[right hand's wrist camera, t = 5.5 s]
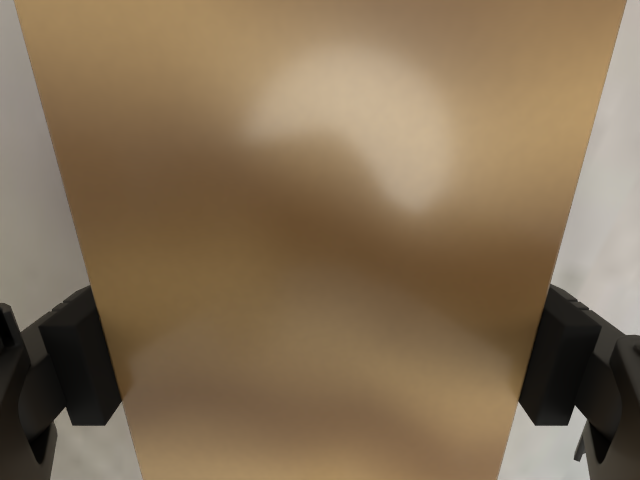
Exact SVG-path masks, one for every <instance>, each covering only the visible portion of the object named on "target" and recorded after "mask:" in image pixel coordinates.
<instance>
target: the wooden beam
mask: <svg viewBox="0 0 640 480" xmlns="http://www.w3.org/2000/svg"><path fill="white" fill-rule="evenodd" d="M626 2H627V0H14V3H15V7H16V10H17V14H18V18H19V21H20V25H21V29H22V33H23V36H24V40H25V44H26V47H27V51H28V55H29V59H30V62H31V66H32V70H33V73H34V77H35V81H36V85H37V88H38V92H39V96H40V99H41V103H42V107H43V110H44V114H45V118H46V122H47V125H48V129H49V133H50V136H51V140H52V144H53V148H54V151H55V155H56V159H57V162H58V166H59V170H60V174H61V177H62V181H63V185H64V188H65V192H66V196H67V200H68V203H69V207H70V211H71V214H72V218H73V222H74V225H75V229H76V233H77V237H78V240H79V244H80V248H81V251H82V255H83V259H84V263H85V266H86V270H87V274H88V277H89V281H90V285H91V289H92V292H93V296H94V300H95V303H96V307H97V311H98V314H99V318H100V322H101V326H102V329H103V333H104V337H105V340H106V344H107V348H108V352H109V355H110V359H111V363H112V366H113V370H114V374H115V378H116V381H117V385H118V389H119V392H120V396H121V400H122V404H123V407H124V411H125V415H126V418H127V422H128V426H129V429H130V433H131V437H132V441H133V444H134V448H135V452H136V455H137V459H138V463H139V467H140V470H141V474H142V478H143V480H497V478H498V475H499V471H500V467H501V464H502V460H503V456H504V453H505V449H506V445H507V442H508V438H509V434H510V430H511V427H512V423H513V419H514V416H515V412H516V408H517V405H518V401H519V397H520V393H521V390H522V386H523V382H524V379H525V375H526V371H527V368H528V364H529V360H530V356H531V353H532V349H533V345H534V342H535V338H536V334H537V331H538V327H539V323H540V320H541V316H542V312H543V308H544V305H545V301H546V297H547V294H548V290H549V286H550V283H551V279H552V275H553V271H554V268H555V264H556V260H557V257H558V253H559V249H560V246H561V242H562V238H563V234H564V231H565V227H566V223H567V220H568V216H569V212H570V209H571V205H572V201H573V198H574V194H575V190H576V186H577V183H578V179H579V175H580V172H581V168H582V164H583V161H584V157H585V153H586V149H587V146H588V142H589V138H590V135H591V131H592V127H593V124H594V120H595V116H596V112H597V109H598V105H599V101H600V98H601V94H602V90H603V87H604V83H605V79H606V76H607V72H608V68H609V64H610V61H611V57H612V53H613V50H614V46H615V42H616V39H617V35H618V31H619V27H620V24H621V20H622V16H623V13H624V9H625V5H626Z"/></svg>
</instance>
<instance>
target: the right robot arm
mask: <svg viewBox="0 0 640 480" xmlns="http://www.w3.org/2000/svg"><path fill="white" fill-rule="evenodd" d="M121 402H122V400H121V396H120V392H119V389H118V385H117V381H116V378H115V374H114V370H113V366H112V363H111V359H110V355H109V352H108V348H107V344H106V340H105V337H104V333H103V329H102V326H101V322H100V318H99V314H98V311H97V307H96V303H95V300H94V296H93V292H92V289H91V285H89V286H87V287H85V288H83V289H80V290H78V291H76V292H75V293H74V294H72V295H71V296H69V297H68V298H67V299H65V300H64V301H63V303H60V304H59V305H57V306H56V307H55V308H53V309H52V312H48V313H46V314H45V315H44V316H42V317H41V318H40V319H38V320H37V321H35V322H34V323H33V324H31V325H30V326H29V327H27V328H26V329H25V330H23V331H22V332H21V333H20V330H19V328H18V325H17V322H16V319H15V317H14V314H13V311H12V309H11V306H9V305H7V304H5V303H0V480H50V476H51V470H52V464H53V458H54V452H55V447H56V441H57V430H56V427H55V424H54V421H53V420H54V419H55V418H56V417H57V416H58V415H59V414H60V412H61V411H62V410H63V409H64V408H65V407H66V408H67V411H68V414H69V417H70V420H71V423H72V426H105V425H106V424H107V422H108V421H109V419H110V418H111V416H112V415H113V413H114V412H115V410H116V409H117V407H118V406H119V405H120V403H121ZM519 403H520V404H521V406H522V407H523V409H524V410H525V412H526V413H527V414H528V416H529V417H530V419H531V420H532V422H533V423H534V425H535V426H568V423H569V420H570V418H571V415H572V412H573V409H574V406H576V407H577V408H578V409H579V410H580V411H581V412H582V414H583V415H584V416H585V417H586V418H587V421H586V424H585V427H584V429H583V432H582V435H581V437H580V440H579V443H578V445H577V448H576V451H575V455H574V460H576V461H579V462H580V460H581V457H582V454H584V453H586V457H587V463H588V469H589V475H590V480H640V336H639V335H625V334H624V333H622V332H621V331H619V330H618V329H617V328H615V327H614V326H613V325H611V324H610V323H609V322H607V321H606V320H604V319H603V318H602V317H600V316H599V315H598V314H596V313H595V312H593V311H592V310H589V308H588V307H587V306H585V305H584V304H583V303H581V302H578V301H577V299H576V298H574V297H573V296H572V295H570V294H569V293H567V292H566V291H565V290H563V289H561V288H559V287H556V286H554V285H552V284H550V286H549V290H548V294H547V297H546V301H545V305H544V308H543V312H542V316H541V320H540V323H539V327H538V331H537V334H536V338H535V342H534V345H533V349H532V353H531V356H530V360H529V364H528V368H527V371H526V375H525V379H524V382H523V386H522V390H521V393H520V397H519Z"/></svg>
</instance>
